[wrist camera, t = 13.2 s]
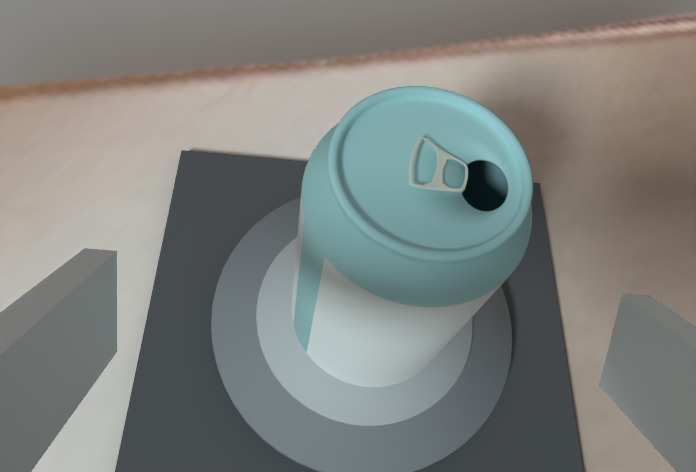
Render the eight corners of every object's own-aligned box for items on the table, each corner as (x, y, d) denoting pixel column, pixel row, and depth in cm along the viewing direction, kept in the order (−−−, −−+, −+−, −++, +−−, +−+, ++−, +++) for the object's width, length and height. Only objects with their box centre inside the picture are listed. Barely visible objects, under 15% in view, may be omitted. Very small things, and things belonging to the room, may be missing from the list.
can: (401, 226, 29) (477, 45, 18) (470, 354, 26) (606, 230, 15) (268, 273, 27) (266, 99, 16) (327, 417, 24) (372, 322, 13)
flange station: (535, 188, 33) (548, 170, 31) (588, 541, 24) (610, 541, 23) (182, 155, 31) (178, 135, 30) (107, 524, 23) (94, 523, 21)
